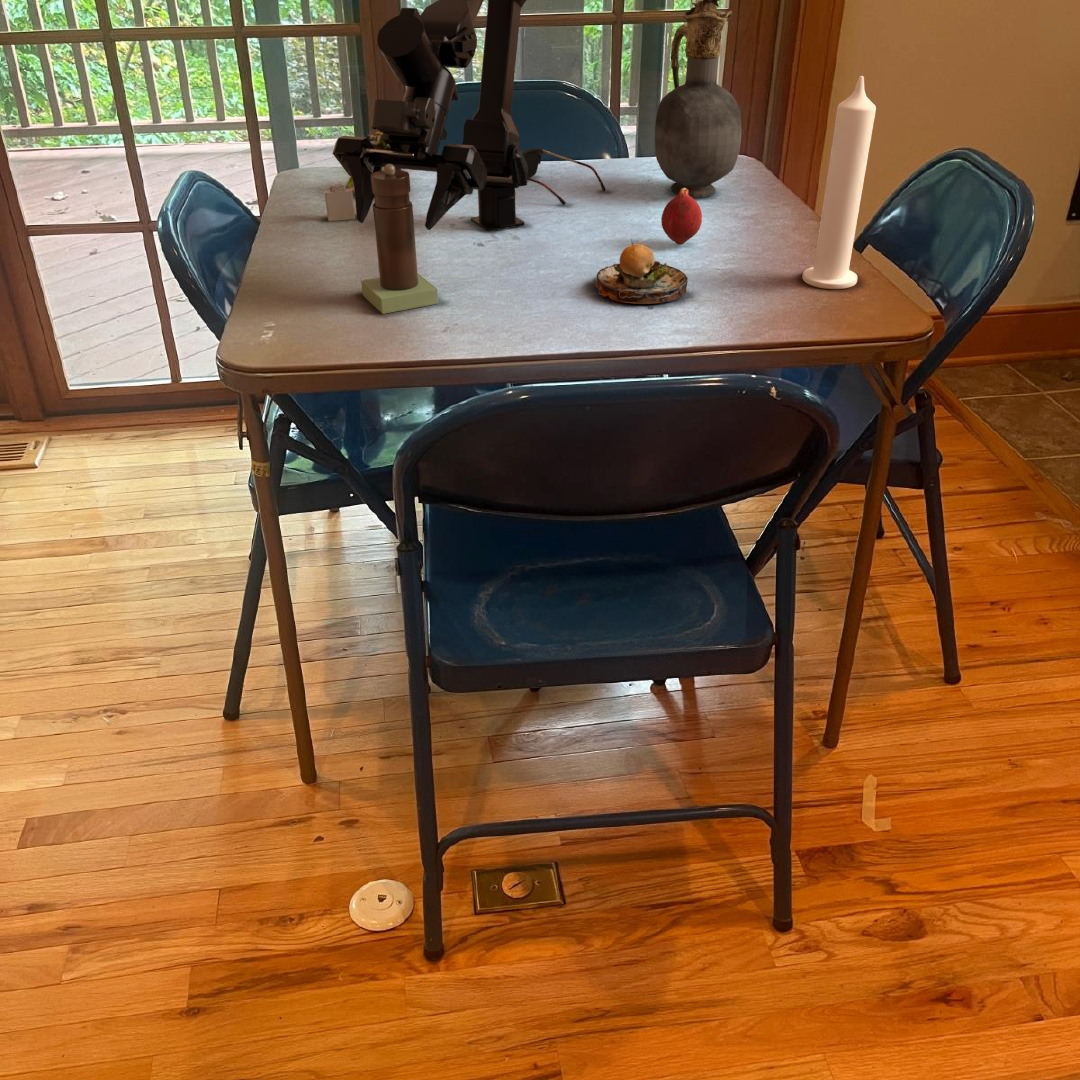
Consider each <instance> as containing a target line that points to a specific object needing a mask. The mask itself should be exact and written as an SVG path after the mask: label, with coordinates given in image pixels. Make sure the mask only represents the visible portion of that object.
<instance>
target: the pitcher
mask: <svg viewBox="0 0 1080 1080" xmlns="http://www.w3.org/2000/svg"><path fill="white" fill-rule="evenodd" d="M719 2H721V0H698V2H691V5H692V6H694V7H690V9H689V10H688V11H685V12H684V13H683V16H682V18H683V19H685V20H686V23H683V24H681V25H679V26H678V28H676V30H675V33H674V35H673V39H672V42H671V45H670V47H671V49H670V62H671V63H670V64H671V65H670V67H671V71H672V81H673V86H674V88H673V89H672V90H670V91H669V92H667V94H666V95H664V96H663V97H662V98H661V100H660V102H659V104H658V108H657V112H656V117H655V125H654V149H655V158H656V162H657V163H658V165H659V167H660V170H661V171H662V173H663V174H664V175H665V177H666V178H667V179H668V180H670V181H672V182H673V183H672V184H671V186H670V192H671V193H672V194H674V195H676V196H677V195H678V194H679V192H680V191H681V189H682V188H686V189H687V190H689V191H688V195H689V196H690V197H692V198H693V199H704V198H710V197H712V196H714V195H715V191H716V187H715V186H714V185H713V184H714V183H716V182H717V181H719V180H721V179H723V178H724V177H726V176H728V174H729V173H730V172H733V170H734V168H735V166H736V164H737V161H738V159H739V154H740V149H741V144H742V132H743V131H742V116H741V115H742V114H741V109H740V106H739V104H738V102H737V100H736V99H735V97H734V96H733V94H732V93H731V92H730V91H729V90H728V89H726V88H725V87H722V86H721V85H719V84H717V83H718V82H717V81H718V70H719V69H718V68H719V59H720V55H721V53H722V52H721V51H722V36H723V30H724V27H725V24H726V22H727V21H728V19H729V18H731V17H732V15H733V10H729V11H722V10H718V8H719V7H720V4H719ZM684 37H685V38H686V40H685V47H684V52H685V57H686V60H687V61H686V71H685V72H686V73H685V82H684V83H683V84H682V85H680V74H679V73H680V62H679V57H680V56H679V55H680V48H681V42H682V39H683V38H684Z"/></svg>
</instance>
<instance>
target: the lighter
mask: <svg viewBox="0 0 1080 1080" xmlns="http://www.w3.org/2000/svg"><path fill="white" fill-rule="evenodd" d="M353 192H354V193H355V191H354V183H353V184H352V186H351V189H346V188H345V184H344V182H342V183H341V182H339V183H332V184H330V185H329V187H328V189H325V190H324V200H325V208H326V215H327V220H328V222H337V221H338V222H339V221H348V220H349V221H350V220H355V219H356V212H355V206H354V205H355V203H354V195H353Z"/></svg>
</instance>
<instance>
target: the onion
mask: <svg viewBox="0 0 1080 1080" xmlns="http://www.w3.org/2000/svg"><path fill="white" fill-rule="evenodd" d="M688 191H689V190H687V189H686V188H682V189H681V191H680V192H679V194H678V195H676V196H674V197H673V198H671V199H670V200H669V201H668V203H667V204H666V205H665V207H664V208H663V210H662V214H661V217H660V218H661V219H660V220H661V227H662V230H663V232H664V233H665V235H666V236H667V237H668V238H669V239H670V240H671V241H673V242H674V244H676V245H679V246H682V245H685V243H686V242H688V241H689V240H691V239H692V238H693V237H694V236H696V235H697V234H698V232H699V230H700V229H701V226H702V223H703V222H702V221H703V212H702V209H701V207H700V205H699V203H698V202H697V200H695V198H692V197H690V196H689V195H688Z"/></svg>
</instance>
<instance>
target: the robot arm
mask: <svg viewBox="0 0 1080 1080" xmlns="http://www.w3.org/2000/svg"><path fill="white" fill-rule="evenodd" d="M484 1H485V0H436V1H434V2H433V3H431V4H429V5H427V6H425V8H424V9H423V11H422V12H421V13H420V12H419V9H418V8H417V7H401V8H400V12H399V15H396V16H394V17H391V18H390V19H388V20H387V21H386V22H385V24H383V26H382V27H381V28H380V29H379V30H378V33H377V36H376V42H377V46H378V49H379V50H380V52H381V54H382V56H383V57H384V59H385V61H386V62H387V64H388V66H389V68H390V69H391V71H392V73H393V74H394V76H395V78H396V80H397V82H399V83H400V84H401V85H403V86H405V87H406V88H405V92H404V95H403V99H402V100H396V99H395V100H393V99H378V98H377V99H374V100H373V107H372V118H371V126H370V127H371V129H372V130H378V132H380V133H383V135H382V140H383V141H384V143H385V144H389V145H390V149H389V151H387V150H375V148H374V147H373V145H372V144H371V142H370V141H369V139H368V138H367V136H355V135H354V136H351V135H341V136H339V137H338V138H337V139H336V141H335V143H334V147H333V150H332V155H333V156H334V158H335V159H336V160H337V161H338V163H339V164H340V166H341V167H342V168H343V170H344V172H345V173H346V174H347V175H348V176H349V177H352V178H353V183H354V191H355V192H354V201H355V215H356V220H357V221H358V223H360V224H363V223H364V222H365V220H366V219H367V217H368V214H369V212H370V210H371V207H372V205H373V202H374V200H375V199H374V194H373V193H372V186H371V174H372V173H374V172H377V171H381V169H382V167H385V165H387V164H392V165H393V166H394V167H395V168H400V169H401V170H409V171H422V172H433V173H436V182H435V183H436V184H435V186H434V189H433V193H432V196H431V199H430V203H429V204H428V205H429V206H428V209H427V212H426V217H425V221H424V222H425V223H424V227H425V229H426V230H427V231H431V230H432V229H433V228H434V227H435V226H436V224H438V222H439V221H441V220H442V218H443V217H444V216H445V215H447V212H449V211H450V210H451V209H452V207H454V206H455V205H456V204H457V203H458V202H459V201H461V200H462V198H464V197H465V196H466V195H468V196H471V195H472V194H473V193H474V190H477V204H478V206H477V208H478V215H477V216H471V217H470V222H472V223H473V224H475V225H476V226H478V227H480V228H481V229H483V230H484V231H486V232H492V231H498V230H503V229H504V230H505V229H510V228H517V227H523V226H525V224H526V223H525V221H524V220H522V219H520V218H518V217H517V214H516V213H517V212H516V210H517V209H516V208H517V207H516V189H519V187H526V186H527V185H528V180H527V177H528V165H527V163H526V160H525V158H524V156H523V154H522V153H523V152H522V149H521V148H520V134H519V132H518V129H517V127H516V125H515V123H514V120H513V118H512V114H511V113H512V103H513V95H514V94H513V93H514V86H515V85H514V83H515V74H516V64H517V54H518V53H517V52H518V43H519V32H520V21H521V12H522V7H524V5H525V3H526V2H527V0H487V10H486V19H485V20H486V21H485V32H484V43H483V54H482V64H481V65H482V66H481V76H480V85H479V86H480V88H479V99H478V107H477V110H476V112H475V113H474V115H473V116H472V118H468V119H466V120H465V122H464V124H463V137H462V143H461V144H460V143H459V144H457V143H447V144H444V145H443V148H442V152H441V154H438V152H439V147H440V145H441V142H442V141H446V140H447V136H448V131H447V129H446V128H445V127H446V121H447V118H448V114H449V110H450V106H451V103H452V101H455V102H456V101H459V91H458V89H457V86H456V85H457V83H456V79H455V78H454V76H453V73H452V72H451V70H449V69H448V68H450V69H466V68H467V67H468V66H469V65H470V63H471V62H472V59H473V58H474V57H475V54H476V49H477V47H478V38H477V32H476V29H475V26H474V25H475V22H476V19H477V17H478V14H479V12H480V9H481V8H482V5H483V3H484Z"/></svg>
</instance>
